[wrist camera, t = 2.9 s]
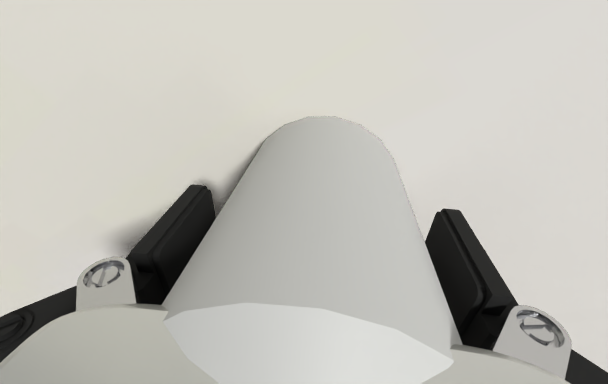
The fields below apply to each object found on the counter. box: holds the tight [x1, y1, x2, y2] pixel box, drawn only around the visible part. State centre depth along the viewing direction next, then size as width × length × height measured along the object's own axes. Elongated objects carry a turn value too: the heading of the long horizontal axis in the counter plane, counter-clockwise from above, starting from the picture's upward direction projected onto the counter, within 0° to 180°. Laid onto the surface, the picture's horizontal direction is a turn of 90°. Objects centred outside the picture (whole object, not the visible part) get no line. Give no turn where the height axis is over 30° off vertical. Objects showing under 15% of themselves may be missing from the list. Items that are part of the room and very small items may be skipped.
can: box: [162, 116, 463, 384], centre depth 10 cm, size 8×8×12 cm
